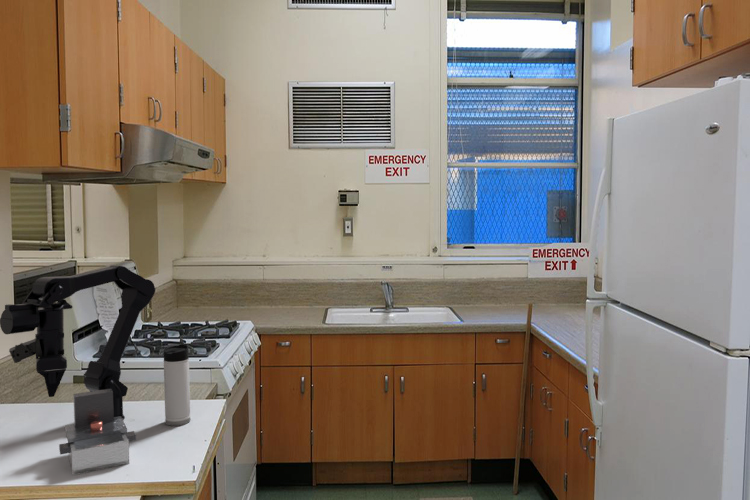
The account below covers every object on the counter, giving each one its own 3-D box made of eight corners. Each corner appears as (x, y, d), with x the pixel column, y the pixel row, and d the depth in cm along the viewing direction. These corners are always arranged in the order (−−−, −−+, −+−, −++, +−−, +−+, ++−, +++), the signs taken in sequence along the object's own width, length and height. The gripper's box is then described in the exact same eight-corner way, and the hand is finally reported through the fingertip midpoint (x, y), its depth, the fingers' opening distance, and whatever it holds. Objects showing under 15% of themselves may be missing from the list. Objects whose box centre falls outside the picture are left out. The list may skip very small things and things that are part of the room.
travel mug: (196, 418, 155) (194, 344, 154) (180, 427, 149) (178, 349, 148) (176, 416, 157) (174, 343, 156) (160, 424, 151) (158, 348, 150)
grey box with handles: (59, 460, 128) (58, 438, 128) (132, 446, 136) (131, 425, 136) (61, 477, 120) (60, 453, 120) (139, 461, 128) (138, 439, 127)
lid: (65, 428, 133) (64, 395, 133) (120, 419, 139) (119, 387, 139) (68, 442, 125) (66, 406, 124) (127, 432, 131) (126, 397, 130)
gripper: (12, 326, 146) (13, 387, 146) (10, 337, 130) (11, 406, 130) (62, 322, 152) (63, 382, 152) (66, 333, 136) (67, 399, 136)
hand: (50, 392), depth 142 cm, fingers open, 9 cm apart
